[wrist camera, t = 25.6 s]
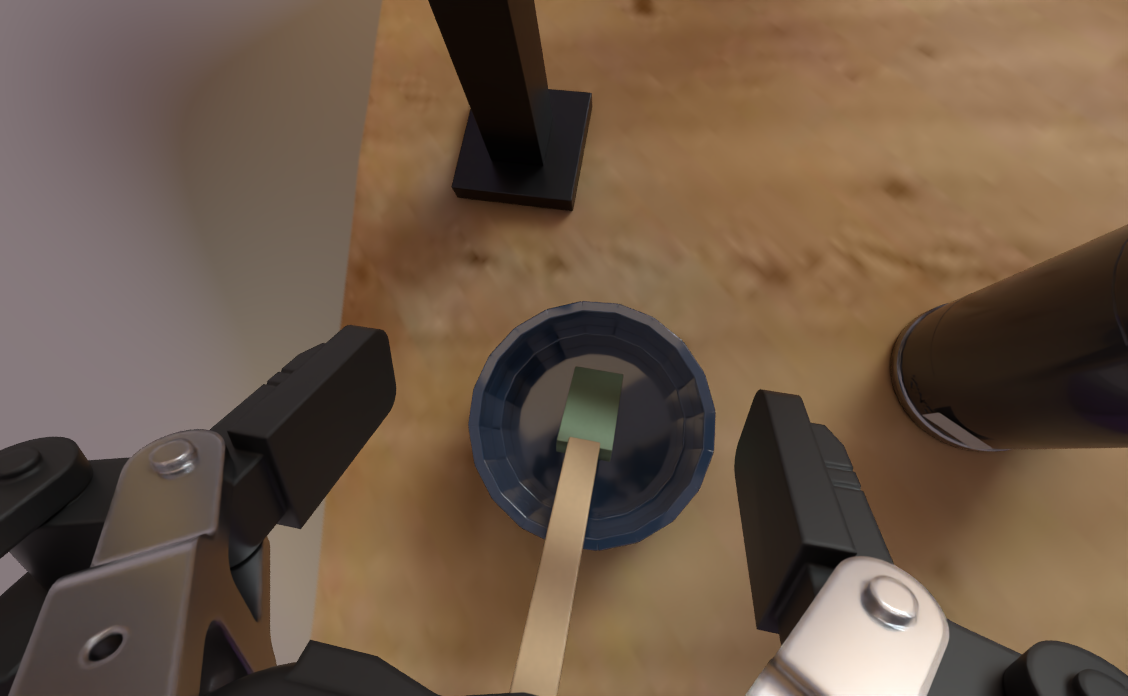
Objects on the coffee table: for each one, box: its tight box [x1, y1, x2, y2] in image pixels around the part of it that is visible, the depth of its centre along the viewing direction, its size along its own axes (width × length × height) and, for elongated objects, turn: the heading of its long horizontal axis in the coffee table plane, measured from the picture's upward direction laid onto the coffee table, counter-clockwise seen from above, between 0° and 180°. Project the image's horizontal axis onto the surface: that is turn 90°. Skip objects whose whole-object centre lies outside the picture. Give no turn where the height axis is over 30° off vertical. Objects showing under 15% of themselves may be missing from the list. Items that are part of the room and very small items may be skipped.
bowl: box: [468, 301, 716, 551], centre depth 29 cm, size 13×13×6 cm
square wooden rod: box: [509, 366, 623, 696], centre depth 24 cm, size 22×3×2 cm
